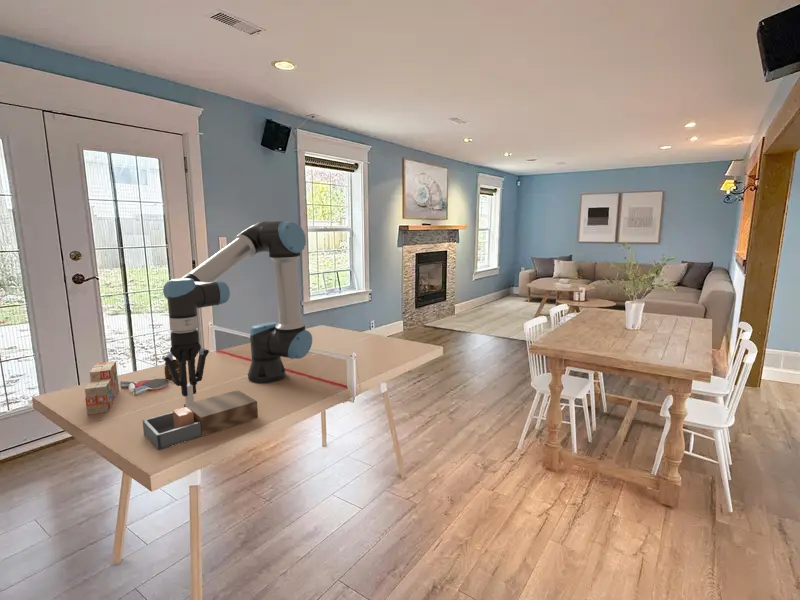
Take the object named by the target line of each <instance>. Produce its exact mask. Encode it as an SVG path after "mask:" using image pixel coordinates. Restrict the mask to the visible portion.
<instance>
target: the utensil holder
mask: <svg viewBox="0 0 800 600" xmlns="http://www.w3.org/2000/svg"><path fill="white" fill-rule="evenodd" d="M166 355H167V353H164V356H166ZM172 362H173V363H174V366H175V369H176V371H177V374H178V377H179V378H180V372H179V363H178V360H177V359H176V358H175V359H174V358H173V360H172ZM164 365H165V366H164V377H165V379H166V378H168V379H167V380H173V379H172V376H171V374H170V371H169V368H168V366H167V363H166V362H165V361H164Z"/></svg>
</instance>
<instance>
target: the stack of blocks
mask: <svg viewBox="0 0 800 600" xmlns="http://www.w3.org/2000/svg"><path fill="white" fill-rule="evenodd" d="M118 377H119V375H118V368H117V360H116V361H115V360H114V361H106V362H105V361H104V362H96V364H94V365H93V367H92V369H90V372H89V378H90V381H89V382H88V384H86V386H85V387H84V395H85V407H86V415H87V416H88V415H95V414H102V413H109V411H110V409H111V407H112V405H113V404H114V402H113V401H115V400H114V399H116V398H115V397H117V396H118V394H119V393H120V388H119V387H120V385H119V379H118ZM118 392H119V393H118ZM116 395H117V396H116Z"/></svg>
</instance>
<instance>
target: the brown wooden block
mask: <svg viewBox="0 0 800 600" xmlns="http://www.w3.org/2000/svg"><path fill="white" fill-rule="evenodd" d="M184 407H187V408H188V409H190V410H191V411H192V412H193V414H194V423H197V422H200V424H201V435H202V436H201V437H204V435H205V436H207V435H206V434H208V435H210V434H209V433H211V434H213V432H214V433H216V431H217V432H220V431H223V430H225V428H227V429H229V427H230V428H232V426H233V427H235V425H236V426H239V425H241V424H244V423H248V422H251V421H254V420H257V419H259V414H258V410H259V409H258V408H259V407H258V400H256V399H255V398H253V397H251V396H249V395H247V394H246V393H244V392H242V391H241V390H239V389H236V390H233V391H230V392H225V393H221V394H217V395H214V396H210V397H207V398H202V399H199V400H194V406H190V407H189V406H187V405H186V403H184V404H183V408H184ZM238 424H239V425H238ZM222 429H223V430H222ZM219 430H220V431H219Z"/></svg>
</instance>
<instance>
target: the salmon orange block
mask: <svg viewBox="0 0 800 600" xmlns="http://www.w3.org/2000/svg"><path fill="white" fill-rule="evenodd" d="M172 412H173V421H174V429H176V428H180V427H183V426H186V425H190V424H193V423H194V414H193V412H192V411H191V410H190V409H188V408H187V407H184V406H183V407H181V408H176V409H173V410H172Z"/></svg>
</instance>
